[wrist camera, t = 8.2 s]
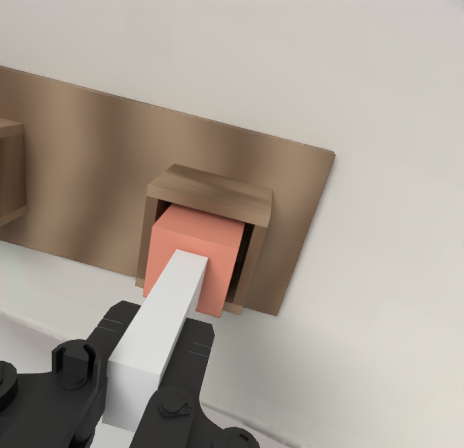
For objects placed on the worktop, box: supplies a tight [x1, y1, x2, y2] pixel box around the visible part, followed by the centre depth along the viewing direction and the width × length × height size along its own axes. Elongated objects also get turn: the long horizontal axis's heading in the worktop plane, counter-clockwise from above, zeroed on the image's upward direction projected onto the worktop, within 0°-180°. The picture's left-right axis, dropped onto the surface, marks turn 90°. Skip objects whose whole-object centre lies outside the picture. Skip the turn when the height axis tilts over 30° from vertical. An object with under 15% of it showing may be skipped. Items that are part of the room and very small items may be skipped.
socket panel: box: [0, 66, 336, 316], centre depth 20 cm, size 28×12×6 cm, turn 77°
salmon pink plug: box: [143, 203, 245, 318], centre depth 18 cm, size 4×4×5 cm
